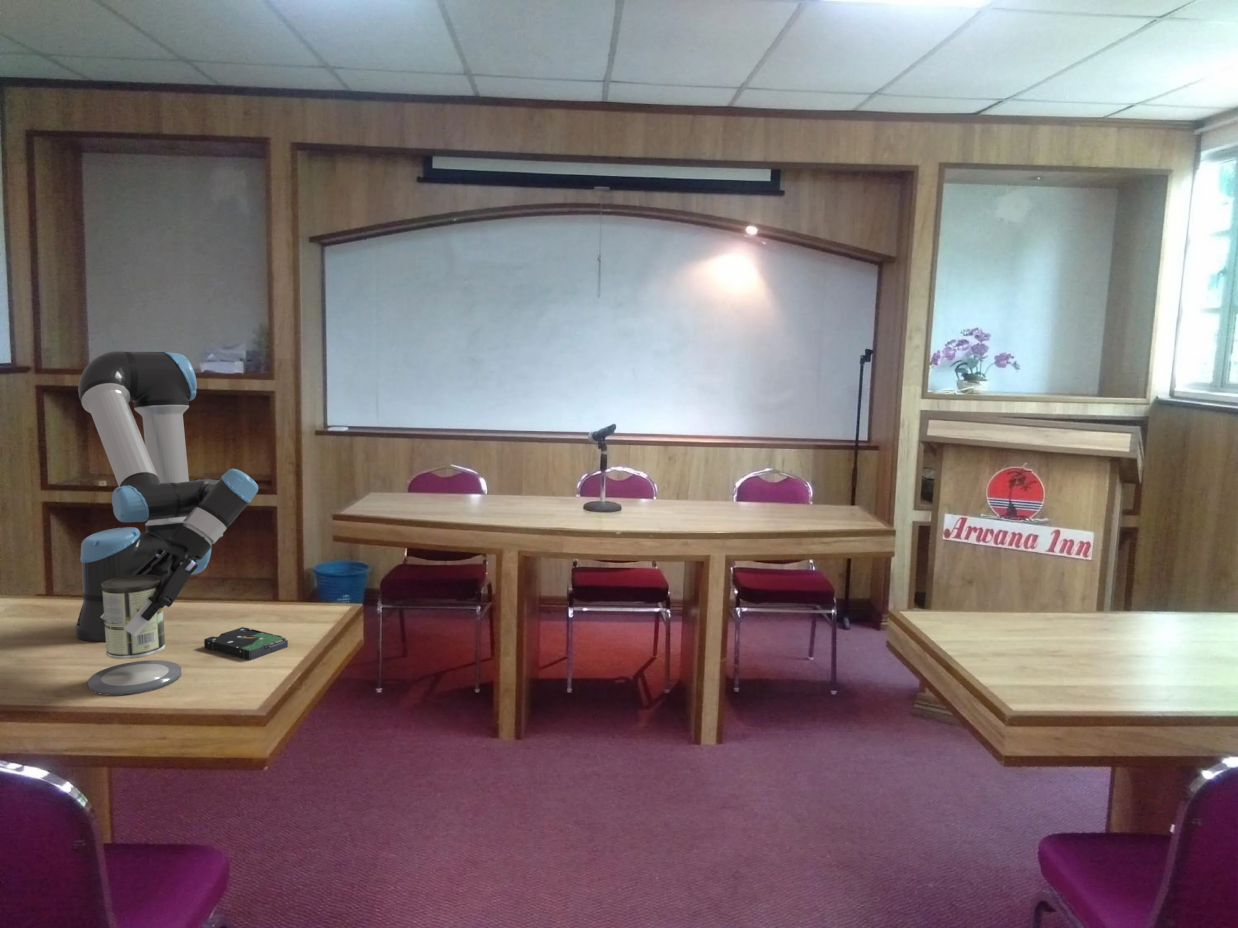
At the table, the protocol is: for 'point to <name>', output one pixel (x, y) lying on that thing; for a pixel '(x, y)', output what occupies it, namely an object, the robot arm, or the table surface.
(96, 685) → the grey flat disc
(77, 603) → the table surface
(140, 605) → the coffee can
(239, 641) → the disk drive
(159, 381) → the robot arm
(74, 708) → the table surface
